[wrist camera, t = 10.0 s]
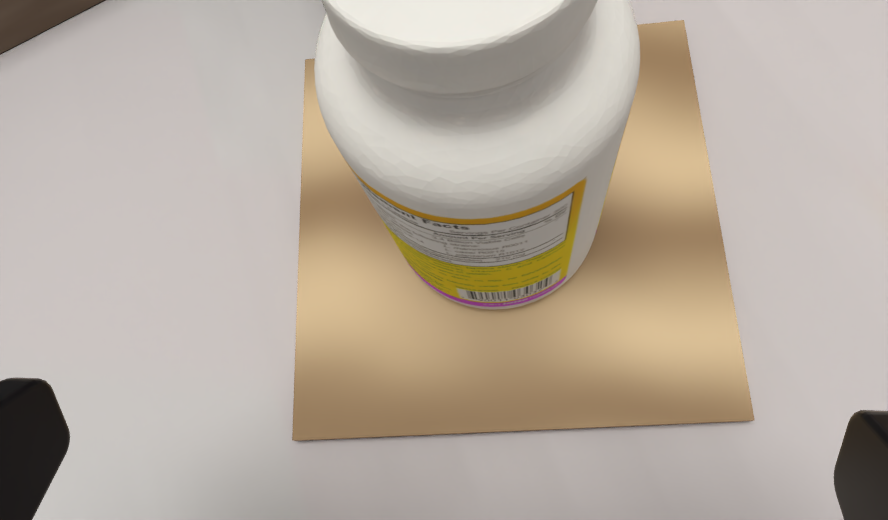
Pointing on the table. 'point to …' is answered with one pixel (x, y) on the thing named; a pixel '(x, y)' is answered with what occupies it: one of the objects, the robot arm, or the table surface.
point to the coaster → (535, 324)
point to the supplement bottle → (481, 131)
